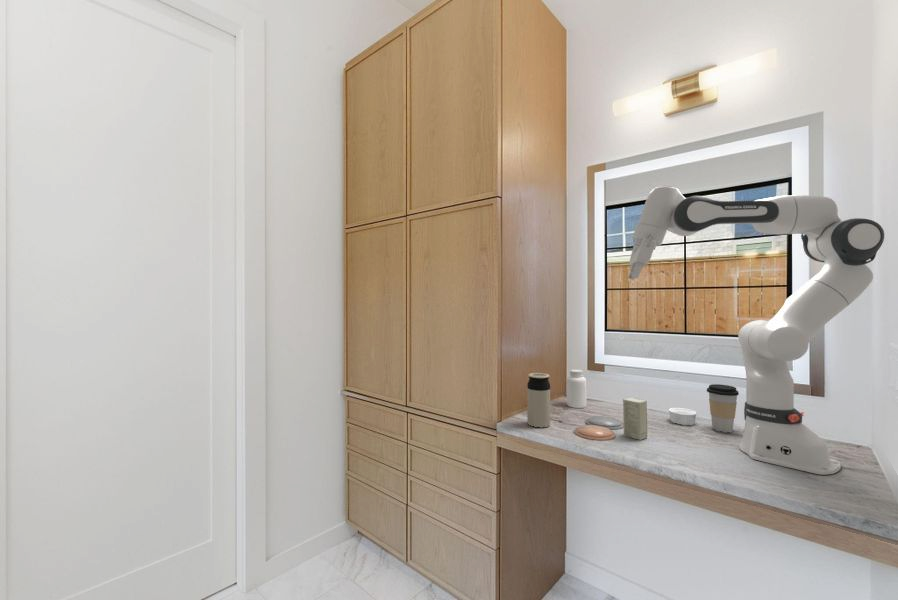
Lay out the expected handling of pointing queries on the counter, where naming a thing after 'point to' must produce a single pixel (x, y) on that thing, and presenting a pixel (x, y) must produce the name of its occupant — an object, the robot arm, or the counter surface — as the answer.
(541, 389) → the travel mug
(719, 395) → the coffee cup
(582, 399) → the pill bottle
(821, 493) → the counter surface
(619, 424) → the slate dish
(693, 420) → the ramekin
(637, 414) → the skincare box
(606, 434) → the terracotta dish
